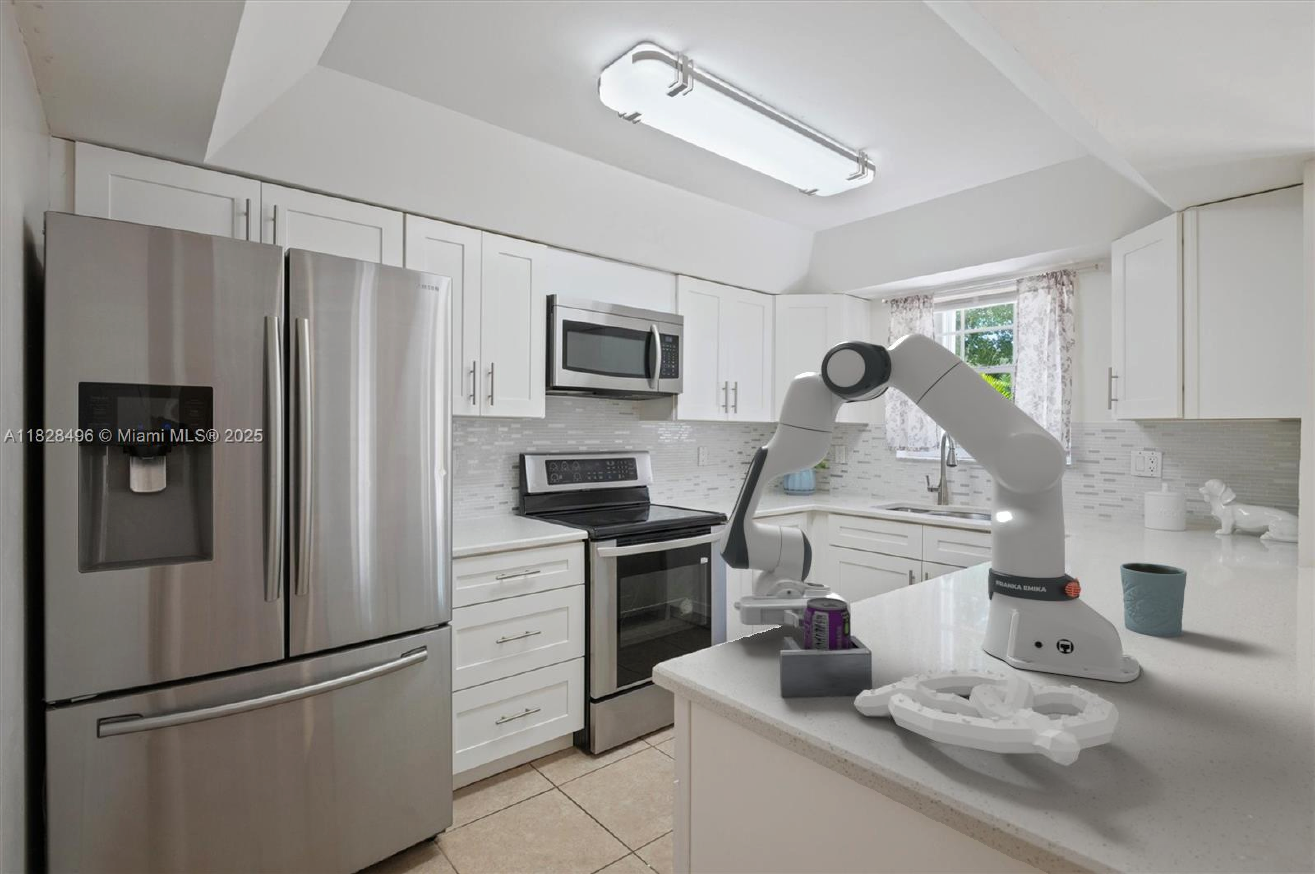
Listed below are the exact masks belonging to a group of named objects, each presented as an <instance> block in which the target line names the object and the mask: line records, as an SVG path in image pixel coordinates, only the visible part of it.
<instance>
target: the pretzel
mask: <svg viewBox="0 0 1315 874" xmlns="http://www.w3.org/2000/svg"><path fill="white" fill-rule="evenodd" d="M964 696H965V697H969V699H967V698H964ZM853 705H854V706H855V708H856V710H857V711H859V713H861V714H862V715H864V716H865V717H888V716H890V715H891V716H892V718H893V720H894V722H895V723H896V725H897V726H899V727H902V728H904V729H907V730H909V731H911V732H913V733H916V734H918V735H920V736H923V737H925V738H928V739H931V740H933V741H935V742H938V743H942V744H944V745H945V744H946V745H951V746H956V747H963V748H968V749H974V750H980V751H986V752H991V753H997V754H1030V755H1031V754H1036V755H1037V754H1038V755H1039V754H1042V755H1043V756H1044V757H1046V758H1048V759H1050V760H1051V761H1053V762H1054V763H1057V764H1059V765H1063V766H1065V767H1068V766H1069V765H1071V764H1074V763H1075V762H1076V761H1078V760H1079V754H1080V752H1081V750H1083V749H1088V748H1092V747H1093V748H1094V747H1096V746H1100V745H1104V744H1109V743H1111V739H1112V738H1113V737H1112V736H1113V735H1114V732H1115V729H1116V727H1117V724H1118V720H1119V719H1120V713H1119V711H1118V710H1117V708H1116V706H1115V704H1114V703H1112V702H1110V701H1108V700H1106V699H1104V698H1103V697H1100V696H1099V695H1098V693H1093V692H1091V691H1089V690H1086V689H1083V688H1079V686H1078V685H1073V684H1071V685H1070V686H1069V687H1067V686H1065V685H1063V684H1060V686H1054V685H1048V686H1041V685H1036V687H1035V688H1034V687H1033V686H1032V684H1031V682H1030V681H1029V680H1027V679H1025V678H1022V677H1020V676H1018V675H1008V674H1005V673H1000V674H998V673H994V670H987V671H980V670H978V669H977V668H970V669H969V670H957V668H952V669H950V670H942V671H936V672H934V671H933V670H928V672H927V673H923V674H917V673H916V674H915V673H914V674H913V675H912V676H911V675H910V676H908V677H906V676H904V677H902V679H901V680H900V681H897V682H893V683H890V684H886V685H884V684H883V685H882V687H878V688H875V689H873V688H872V689H871V690H864V691H862V692H861V693H860V694H859V695H858V696H855V699H854V702H853ZM1053 714H1054V715H1060V718H1058V719H1051V718H1050V717H1049V716H1048V715H1053Z"/></svg>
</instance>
